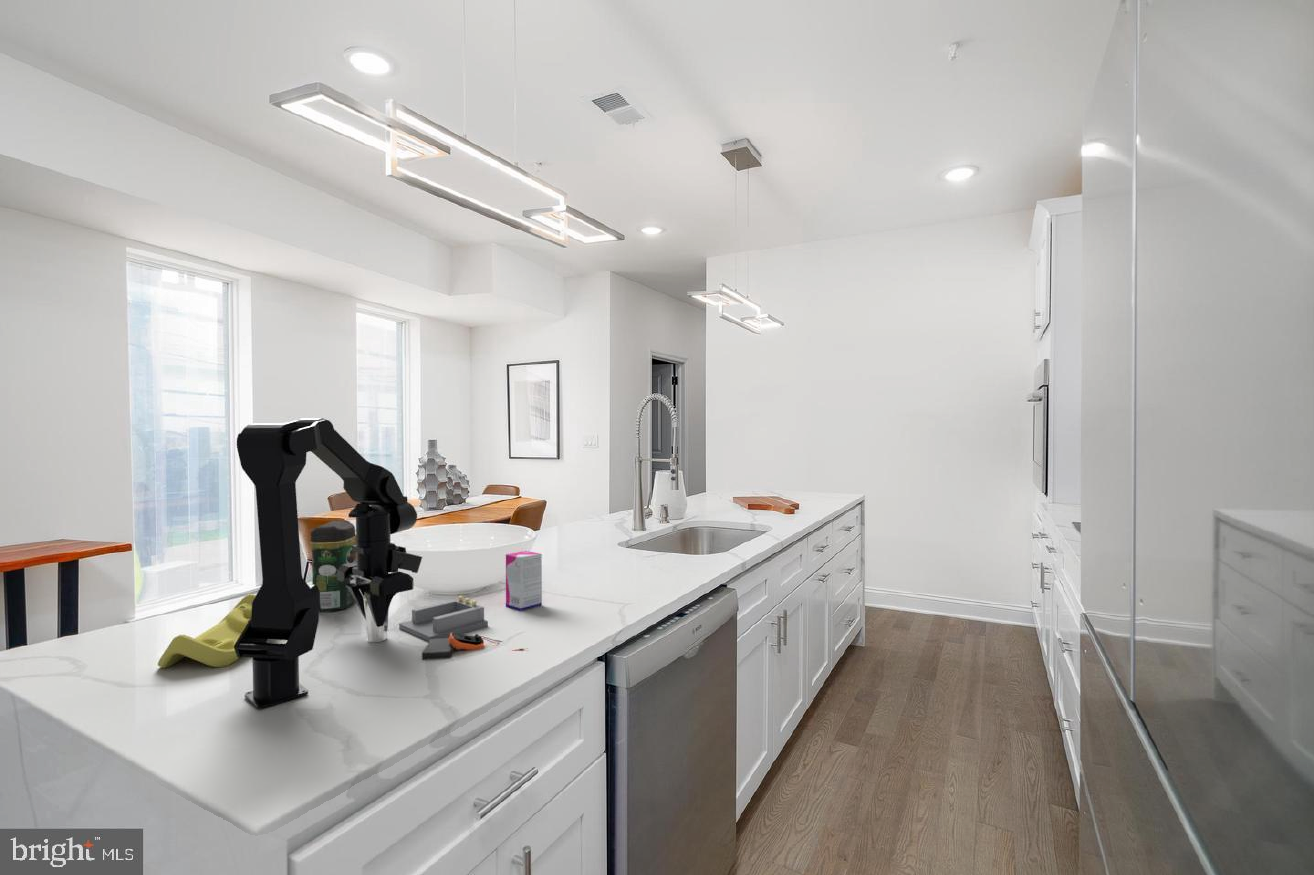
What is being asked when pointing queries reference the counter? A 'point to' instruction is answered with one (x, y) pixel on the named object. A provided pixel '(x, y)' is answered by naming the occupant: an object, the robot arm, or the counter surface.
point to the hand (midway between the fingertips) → (374, 623)
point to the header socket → (445, 619)
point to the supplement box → (523, 580)
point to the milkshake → (374, 625)
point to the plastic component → (212, 640)
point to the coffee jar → (332, 563)
